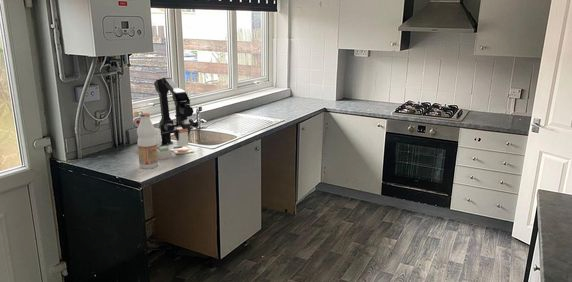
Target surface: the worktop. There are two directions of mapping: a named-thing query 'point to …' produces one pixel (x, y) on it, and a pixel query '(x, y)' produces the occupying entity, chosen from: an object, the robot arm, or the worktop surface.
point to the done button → (163, 148)
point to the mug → (158, 136)
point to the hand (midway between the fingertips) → (182, 139)
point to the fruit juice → (147, 143)
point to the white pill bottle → (182, 137)
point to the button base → (164, 154)
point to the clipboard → (181, 150)
